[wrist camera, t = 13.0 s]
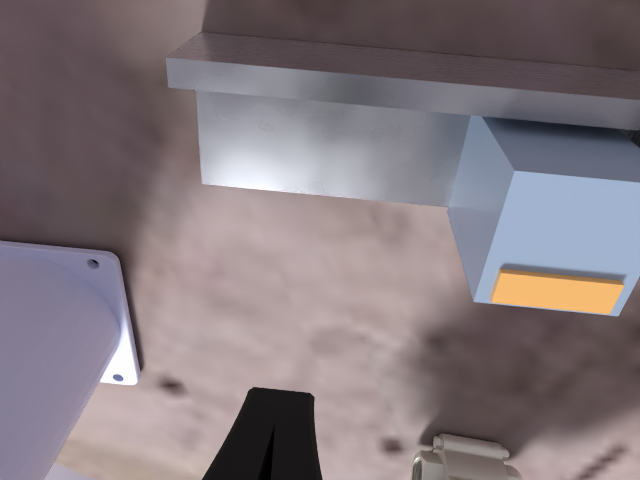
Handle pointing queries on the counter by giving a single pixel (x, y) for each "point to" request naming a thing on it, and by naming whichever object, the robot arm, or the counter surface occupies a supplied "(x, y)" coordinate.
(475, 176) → the block
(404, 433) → the counter surface
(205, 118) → the rail
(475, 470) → the pneumatic valve
